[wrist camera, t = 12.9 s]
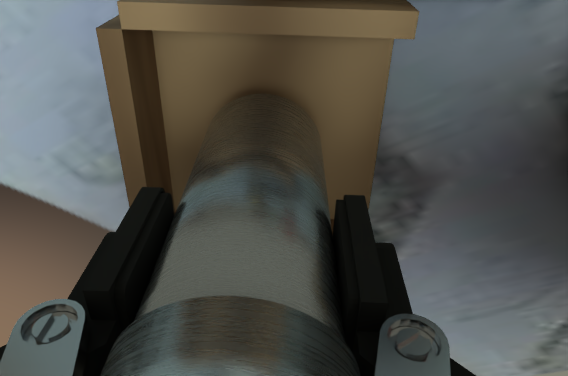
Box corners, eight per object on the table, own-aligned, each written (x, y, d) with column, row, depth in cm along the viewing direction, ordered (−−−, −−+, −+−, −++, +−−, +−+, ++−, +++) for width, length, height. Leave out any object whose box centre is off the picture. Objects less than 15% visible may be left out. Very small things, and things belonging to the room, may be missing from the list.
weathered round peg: (331, 89, 16) (449, 637, 4) (322, 203, 18) (377, 744, 6) (194, 85, 16) (-97, 619, 4) (204, 199, 18) (42, 735, 6)
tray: (395, -11, 17) (419, 11, 13) (361, 219, 22) (372, 278, 19) (135, -19, 17) (90, 0, 14) (166, 211, 23) (140, 267, 19)
